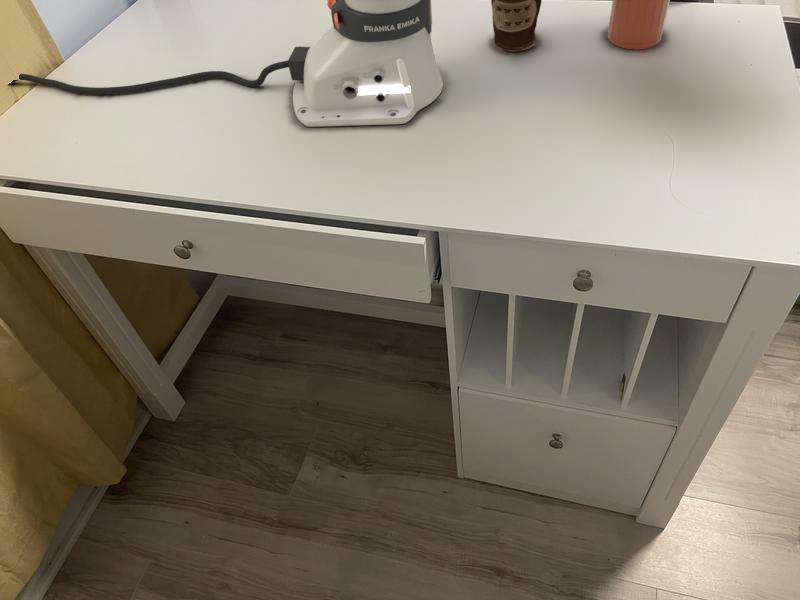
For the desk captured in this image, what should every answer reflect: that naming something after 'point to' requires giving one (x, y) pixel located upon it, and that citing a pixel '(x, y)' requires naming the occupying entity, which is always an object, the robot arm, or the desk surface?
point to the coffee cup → (515, 23)
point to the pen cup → (637, 23)
